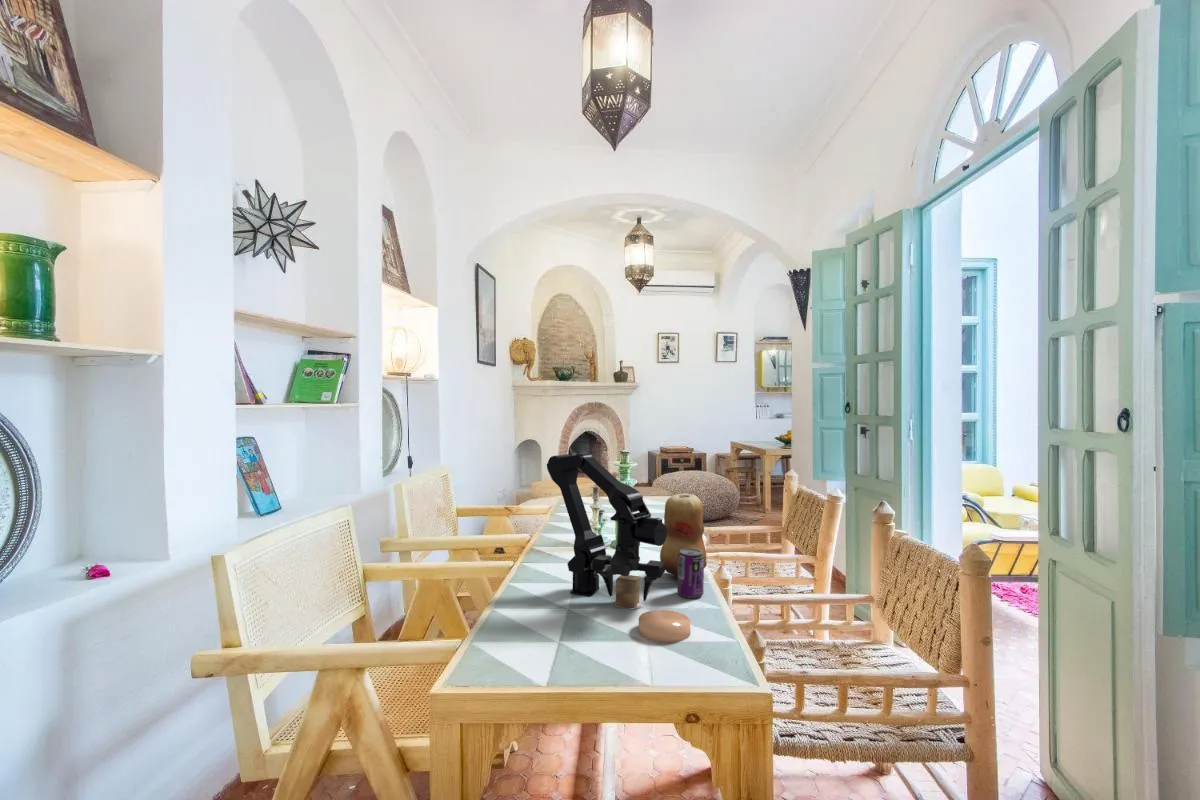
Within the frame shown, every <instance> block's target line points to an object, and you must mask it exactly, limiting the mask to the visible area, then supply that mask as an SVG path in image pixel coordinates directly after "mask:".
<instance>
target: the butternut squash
mask: <svg viewBox="0 0 1200 800" xmlns="http://www.w3.org/2000/svg"><path fill="white" fill-rule="evenodd" d="M703 513H704V506H703V503H702V501H701V499H700V498H699V497H698V496H697V495H696V494H692V493H687V492H686V493H684V492H682V493H677V494H673V495H671V496H670V497H669V498H668V499H667V500H665V504H664V516H663V517H664V518H663V521H664V522H663V524H664V525H665V527H666V530H667V537H666V540H665V542H664V544H663V545H661V548H660V551H659V561H662V562H663V563H664V564H665V573H666V572H667V573H668V574H670V575H672V576H674V577H676V578H677V579H678V556H679V554H680V550H682V549H697V550H700V551H702V556H703V558H704V569H705V568H706V567H707V564H708V563H707V549H706V545H705V543H704V538H703V535H704V532H705V526H704V519H703V515H704V514H703Z"/></svg>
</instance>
